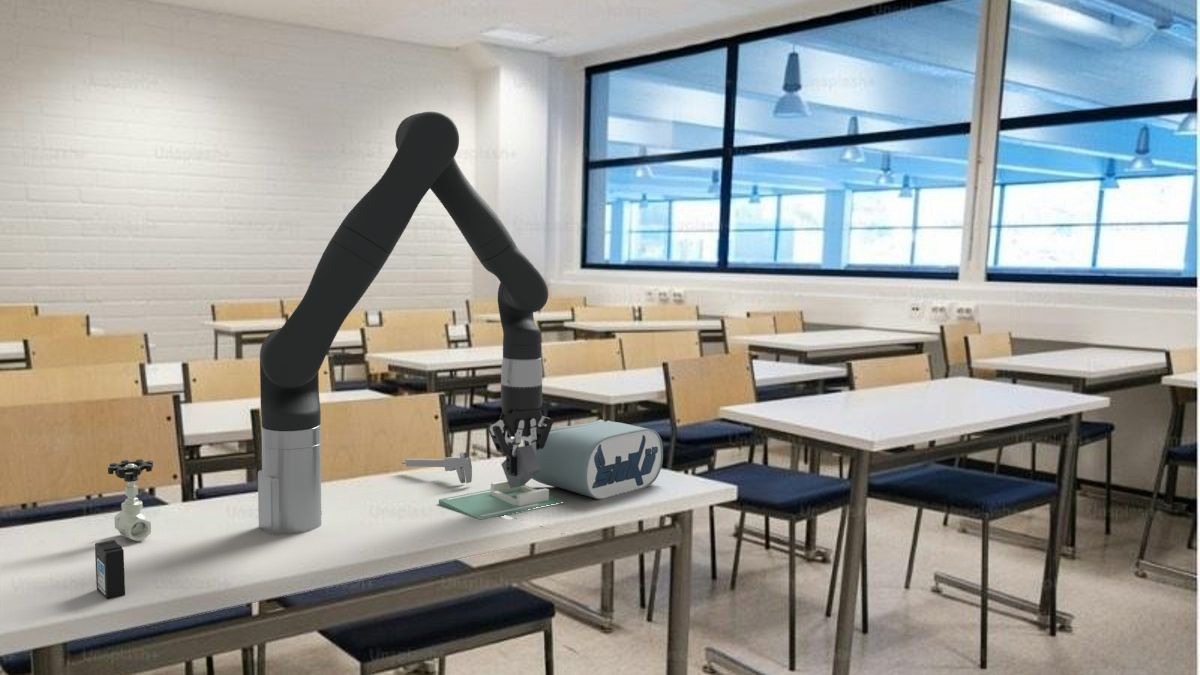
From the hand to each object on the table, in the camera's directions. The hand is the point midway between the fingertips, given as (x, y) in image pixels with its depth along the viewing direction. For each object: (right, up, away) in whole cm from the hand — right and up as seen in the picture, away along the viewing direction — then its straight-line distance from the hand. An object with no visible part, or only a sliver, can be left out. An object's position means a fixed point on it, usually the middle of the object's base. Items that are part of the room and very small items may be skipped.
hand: (520, 473), depth 169 cm
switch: (+2, +3, -3) cm, 5 cm away
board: (-3, -6, -2) cm, 7 cm away
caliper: (-19, -4, +17) cm, 26 cm away
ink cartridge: (-50, -10, -48) cm, 70 cm away
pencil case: (+13, -5, +13) cm, 19 cm away
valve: (-60, -7, -23) cm, 65 cm away
